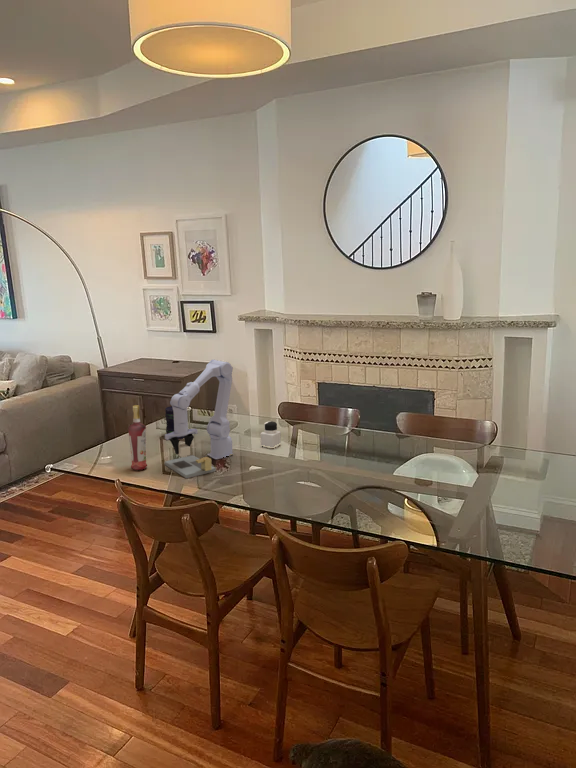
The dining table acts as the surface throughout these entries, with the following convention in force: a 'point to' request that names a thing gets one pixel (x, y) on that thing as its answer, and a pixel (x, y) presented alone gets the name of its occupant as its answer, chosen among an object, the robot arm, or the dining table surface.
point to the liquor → (137, 441)
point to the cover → (183, 450)
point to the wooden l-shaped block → (205, 463)
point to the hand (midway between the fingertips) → (182, 452)
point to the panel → (187, 466)
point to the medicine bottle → (270, 434)
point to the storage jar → (170, 421)
